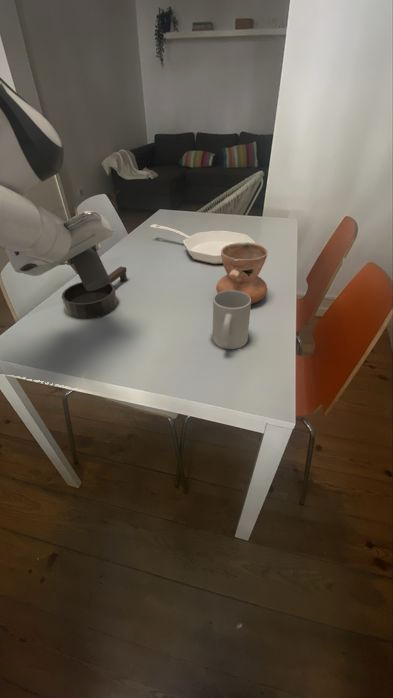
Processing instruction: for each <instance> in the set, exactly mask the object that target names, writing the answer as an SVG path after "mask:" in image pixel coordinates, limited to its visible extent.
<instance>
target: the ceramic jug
mask: <svg viewBox="0 0 393 698" xmlns="http://www.w3.org/2000/svg"><path fill="white" fill-rule="evenodd" d="M221 257H222V261H223V264H222V265H223V268H224V270H225V272H226V275H224V276H222V277H221V278H220V279H219V280H218V281H217V283H216V288H215V289H216V292H217V293H219V292H222V291H227V290H236V291H241V292H244V293H246V294H247V295H249V296H250V298H251V305H253V304H256V303H259V302H260V301H262V300H263V299H264V298H265V297H266V295H267V293H268V285H267V283H266V281H265V280H264V279H263V278H261V277H260V276H259V275H260V273H261V271H262V269H263V267H264V265H265V263H266V261H267V257H268V250H267V248H265V246H263V245H261V244H257V243H256V244H254V243H248V242H247V243H240V242H239V243H233V244H229V245H226V246H225V247H223V248H222V250H221ZM217 293H216V294H217Z"/></svg>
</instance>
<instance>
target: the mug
mask: <svg viewBox="0 0 393 698" xmlns="http://www.w3.org/2000/svg"><path fill="white" fill-rule="evenodd" d="M251 307H252V304H251V298H250V296H249V295H247V294H246V293H244V292H241V291H236V290H227V291H222V292H219V293H216V294H215V295H214V296H213V299H212V332H211V333H212V337H211V338H212V341H213V343H214V345H216V346H217V347H220V348H221V349H225V350H226V349H227V350H236V349H240V348H243V347H244V346H245V345H247V342H248V340H249V330H250V329H249V327H250V317H251Z"/></svg>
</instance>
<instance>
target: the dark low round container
mask: <svg viewBox="0 0 393 698" xmlns="http://www.w3.org/2000/svg"><path fill="white" fill-rule="evenodd" d="M117 298H118V297H117V293H116V288H115V286H114V284H112V283H108V284H107V285H105V286H104V287H102V288H100V289H97V290H93V291H87V290H86V289H85V287H84V285H83V283H82V281H81V282H77V283H74V284H72V285H70V286H68V287H67V288H65V289H64V290H63V292H61V300H62V303H63V306H64V310H65V311H66V314H67V315H68V316H70V317H72V318H75V319H81V320H90V319H96V318H100V317H102V316H105V315H107V314H109V313H111V312H112V311H114V310H115V309H116V307H117V305H118V299H117Z"/></svg>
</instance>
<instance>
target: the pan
mask: <svg viewBox="0 0 393 698" xmlns="http://www.w3.org/2000/svg"><path fill="white" fill-rule="evenodd" d="M149 227H150V228H152V229H159V230H164V231H170V232H173V233H175V234H178V235H180V236H181V237H185V239H183V240H182V243H183V246H184V248H185V249H186V251H187V252H188V254H189V255H190V256H191V258H192V259H193V260H194V261H197V262H201V263H207V264H211V265H223V261H222V257H221V250H222V248H223V247H225V246H226V245H229V244H233V243H239V242H240V243H247V242H248V243H254V244H257V243H256V241H254V239H252V238H251V237H250V236H249V235H248V234H246V233H241V232H237V231H236V232H235V231H229V230H211V231H209V230H208V231H201V232H200V231H199V232H196V233H193V234H192V235H188V234H187V233H185V232H182V231H180V230H178V229H174V228H172V227H169V226H165V225H159V224H156V223H152V224H151V225H150V226H149Z"/></svg>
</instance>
